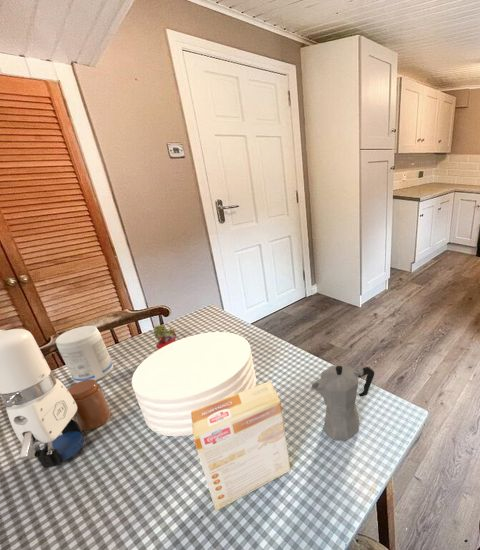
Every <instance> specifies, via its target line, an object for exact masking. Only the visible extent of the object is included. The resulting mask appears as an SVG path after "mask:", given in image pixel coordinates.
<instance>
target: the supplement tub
mask: <svg viewBox="0 0 480 550" xmlns="http://www.w3.org/2000/svg"><path fill="white" fill-rule="evenodd" d="M54 342H55V344H56V348H57V350H58V352H59V354H60V356H61V358H62V360H63V362H64V363H65V366H66V367H67V370H68V372H69V374H70V376H71V378H72V380H73V381H74V382H75V384H76V383H78V382H81V381H84V380H90V379H91V380H95V381H96V382H97V381H99V380H102V379H103V378H104V377H106V376H108V375H109V374H110V373H111V372H112V371H113V369H114V363H113V360H112V358H111V355H110V353H109V351H108V349H107V346H106V344H105V341H104V339H103V337H102V334H101V332H100V331H99V329H98V327H97V326H94V325H85V326H79V327H76V328H72V329H70V330H67V331H65V332H63V333H61V334H59V336H57V337H56V338H55V341H54Z"/></svg>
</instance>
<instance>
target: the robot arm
mask: <svg viewBox="0 0 480 550" xmlns="http://www.w3.org/2000/svg"><path fill="white" fill-rule="evenodd" d="M0 399H1V400H2V402H3V407H5V408H6V414H7V417H8V420H9V423H10V425H11V428H12V430H13V432H14V433H15V436H16V437H17V439H18V441H19V442H20V443H21V448H20V453H19V460H27V459H29V460H30V459H36V458H37V460H38V461H39V462H40V465H41V466H42V467H43V468H44V469H49V468H53V467H58V466H61V465H63V463H64V461H63V459H62V457H61V456H60V454H59V452H58V450H57V449H53V442H52V441H54V440H55V439H56V438H57V437H58V436H60V435H62V434H65V433H68V432H73V431H77V432H80V433H81V435H83V430H81V429H80V427H79V425H78V423H77V421H76V420H77V416H76V415H75V413H76V411H77V405H76V403H75V401H74V399H73V397H72V396H71V394H70V393H69V391H68V388H67V387H66V386H65V384H64V383H63V382H62V381H61V379H58V377H55V375H54V373H53V372H52V369H51V368H50V366H49V365H48V362H47V360H46V358H45V356H44V354H43V353H42V351H41V349H40V346H39V345H38V343H37V341H36V339H35V337H34V335H33V334H32V333H31V332H30V331H29V330H27V329H24V328H12V329H6V330H5V329H0ZM75 421H76V422H75ZM42 444H44V447H45V449H43V448H41V445H42Z"/></svg>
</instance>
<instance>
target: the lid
mask: <svg viewBox="0 0 480 550" xmlns="http://www.w3.org/2000/svg"><path fill="white" fill-rule="evenodd" d="M52 442H53V449H57V450H58V452H59V454H60V456H61V457H62V459H63V462H64V461H66V460H67V459H70V458H72V457H73V456H74V455H75V454H77V453H78V452H79V451H80V450H81V449H82V448H83V446H84V444H85V437H84V435H83V434H82V435H81V433H80V432H77V431H73V432H68V433H65V434H62V433H61V434H59V436H58V437H57V438H56V439H55V440H54V441H52ZM42 449H45V446H43V448H42Z"/></svg>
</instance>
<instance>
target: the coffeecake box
mask: <svg viewBox="0 0 480 550" xmlns="http://www.w3.org/2000/svg"><path fill="white" fill-rule="evenodd" d="M191 418H192V430H193V434H192V437H193V442H194V445H195V448H196V452H197V454H198V458H199V462H200V465H201V467H202V471H203V474H204V477H205V481H206V483H207V487H208V491H209V493H210V497H211V500H212V501H211V502H212V504H213V506H214V509H215V511H216V512H217V511H219V510H221V509H224V508H225V507H227V506H229V505H231V504H232V503H234V502H237V501H238V500H240V499H241V498H244V497H245V496H247V495H248V494H251V493H253V492H254V491H256V490H258V489H259V488H262V487H263V486H265V485H267V484H269V483H270V482H273V481H274V480H276V479H278V478H279V477H281V476H283V475H285V474H287V473H288V472H290V471H291V462H290V455H289V449H288V442H287V437H286V430H285V424H284V416H283V410H282V403H281V400H280V398H279V395H278V393H277V392H276V390H275V387H274V384H273V383H272V380H268V381H266V382H264V383H263V382H262V383H261V384H258V385H256V386H255V387H253V388H250V389H248V390H245V391H242V392H240V393H237V394H235V395H232V396H229V397H227V398H224V399H222V400H219V401H217V402H214V403H211V404H209V405H206V406H204V407H201V408H198V409H196V410H193V411H191Z"/></svg>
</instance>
